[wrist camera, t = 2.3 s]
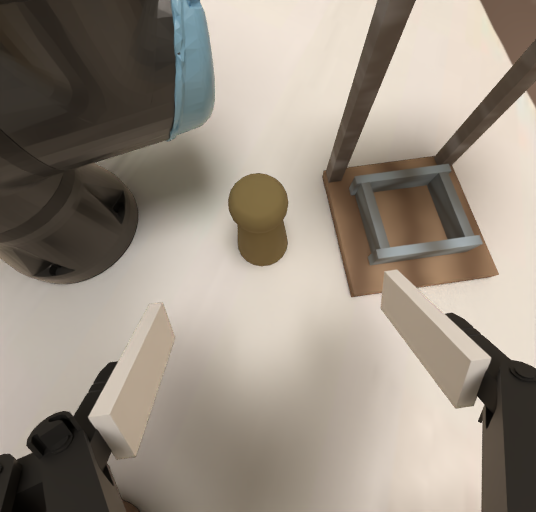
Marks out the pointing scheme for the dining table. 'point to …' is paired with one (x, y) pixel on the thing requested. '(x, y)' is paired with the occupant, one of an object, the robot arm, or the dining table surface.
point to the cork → (259, 218)
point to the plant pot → (130, 507)
